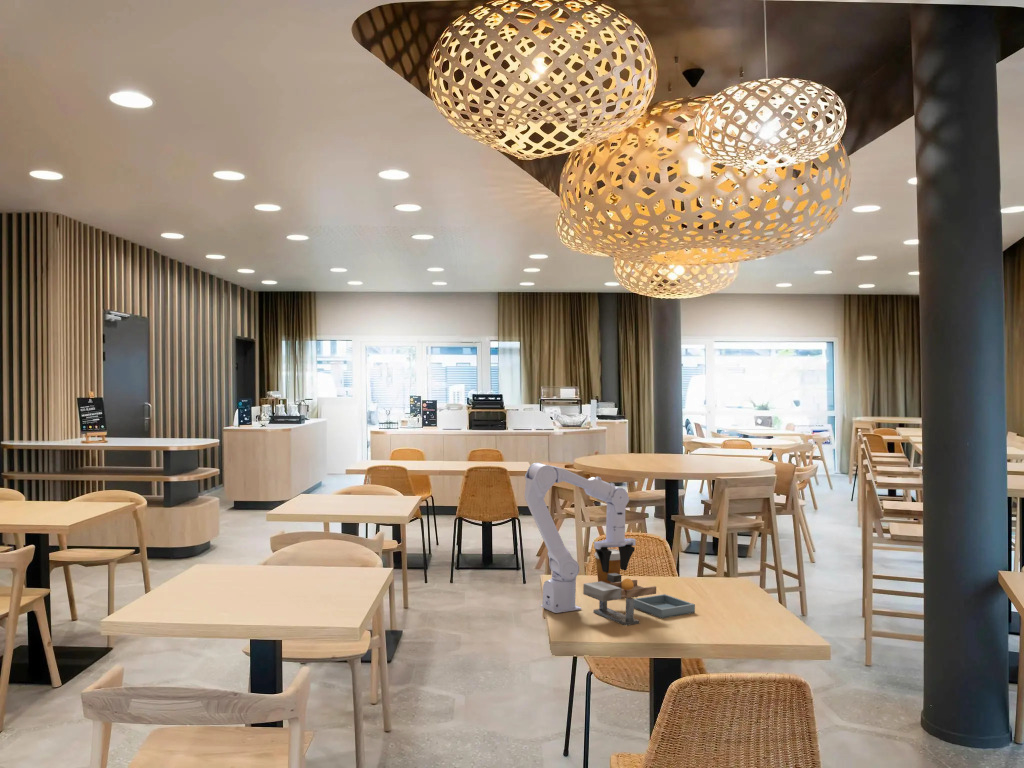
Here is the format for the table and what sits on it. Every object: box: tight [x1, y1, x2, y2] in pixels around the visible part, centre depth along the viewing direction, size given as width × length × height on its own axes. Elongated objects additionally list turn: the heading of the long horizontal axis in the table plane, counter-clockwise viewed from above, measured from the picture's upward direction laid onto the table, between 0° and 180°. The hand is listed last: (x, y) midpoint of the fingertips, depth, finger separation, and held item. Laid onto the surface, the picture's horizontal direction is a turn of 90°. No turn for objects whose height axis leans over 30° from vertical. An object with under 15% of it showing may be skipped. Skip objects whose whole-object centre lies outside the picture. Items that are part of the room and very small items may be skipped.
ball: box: [621, 578, 634, 590], centre depth 228 cm, size 4×4×4 cm
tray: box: [633, 593, 696, 619], centre depth 235 cm, size 13×13×2 cm
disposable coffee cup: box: [594, 548, 621, 583], centre depth 261 cm, size 10×10×12 cm
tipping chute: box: [582, 573, 657, 602], centre depth 230 cm, size 20×17×3 cm
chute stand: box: [593, 597, 640, 626], centre depth 225 cm, size 5×15×7 cm, turn 31°
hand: (614, 570), depth 239 cm, fingers open, 6 cm apart
